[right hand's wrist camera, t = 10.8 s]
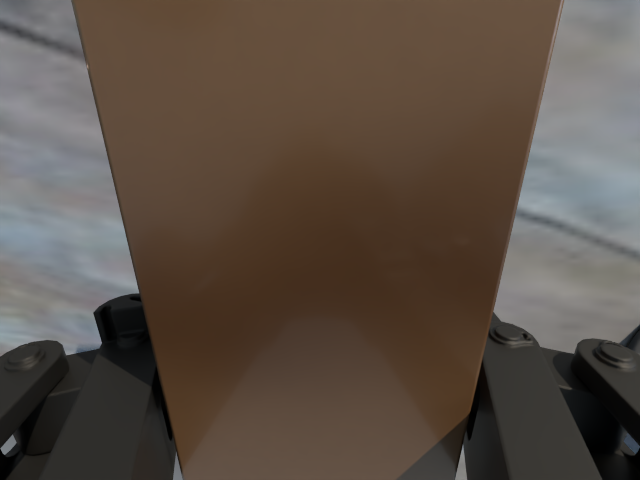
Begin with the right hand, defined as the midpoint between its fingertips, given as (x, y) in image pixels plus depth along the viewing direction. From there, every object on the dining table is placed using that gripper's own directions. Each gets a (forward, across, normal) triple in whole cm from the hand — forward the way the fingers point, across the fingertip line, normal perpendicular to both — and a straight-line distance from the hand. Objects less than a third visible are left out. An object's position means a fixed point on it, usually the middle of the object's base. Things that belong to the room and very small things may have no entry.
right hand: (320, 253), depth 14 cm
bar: (+1, 0, -9) cm, 9 cm away
